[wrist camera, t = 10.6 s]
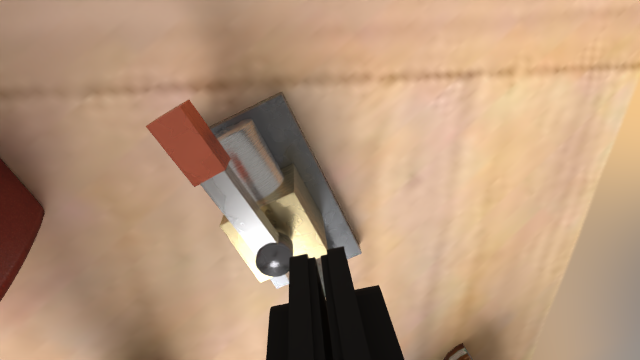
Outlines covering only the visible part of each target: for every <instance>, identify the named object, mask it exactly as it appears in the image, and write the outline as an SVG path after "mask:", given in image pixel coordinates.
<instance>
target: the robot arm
mask: <svg viewBox="0 0 640 360" xmlns="http://www.w3.org/2000/svg"><path fill="white" fill-rule="evenodd" d="M321 265H322V273H323V281H324V288H325V295H324V291H323V287H322V283H321V279H320V274H319V270H318V266H317V262H316V258H315V257H312V258H309V257H308V254H303V255H298V256H293V257H290V258H289V303H288V304H283V305H278V306H273V307H271V309H270V316H269V329H268V342H267V355H266V360H404V357H403V354H402V351H401V348H400V346H399V343H398V340H397V337H396V334H395V331H394V328H393V325H392V322H391V319H390V316H389V313H388V310H387V307H386V304H385V301H384V298H383V295H382V292H381V290H380V287H379V285H377V286H372V287H367V288H362V289H357V290H354V287H353V282H352V278H351V274H350V270H349V266H348V261H347V257H346V253H345V249H344V246H342V247H337V248H332V249H327V255H322V256H321ZM325 296H326V299H325Z"/></svg>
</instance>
